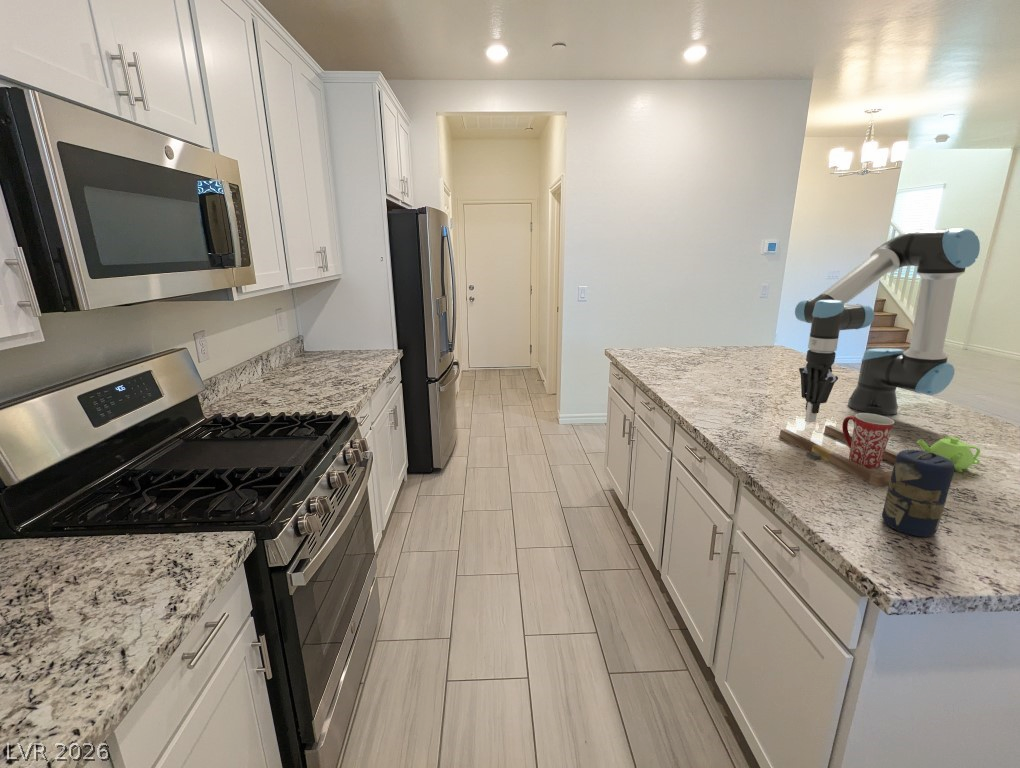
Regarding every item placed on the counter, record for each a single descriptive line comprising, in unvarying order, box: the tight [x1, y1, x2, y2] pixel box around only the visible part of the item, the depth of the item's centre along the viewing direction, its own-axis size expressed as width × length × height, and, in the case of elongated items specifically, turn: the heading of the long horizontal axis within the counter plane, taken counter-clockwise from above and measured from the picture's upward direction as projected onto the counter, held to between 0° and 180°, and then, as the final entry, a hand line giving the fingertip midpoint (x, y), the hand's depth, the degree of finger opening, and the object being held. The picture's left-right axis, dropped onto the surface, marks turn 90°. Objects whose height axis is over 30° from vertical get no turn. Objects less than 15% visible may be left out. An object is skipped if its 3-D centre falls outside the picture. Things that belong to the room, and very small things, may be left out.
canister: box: [882, 449, 955, 537], centre depth 102 cm, size 10×10×18 cm
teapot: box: [916, 436, 981, 473], centre depth 132 cm, size 11×12×8 cm
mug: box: [841, 412, 896, 469], centre depth 135 cm, size 13×9×14 cm
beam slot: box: [779, 424, 899, 487], centre depth 140 cm, size 25×34×2 cm
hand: (810, 421), depth 154 cm, fingers closed
